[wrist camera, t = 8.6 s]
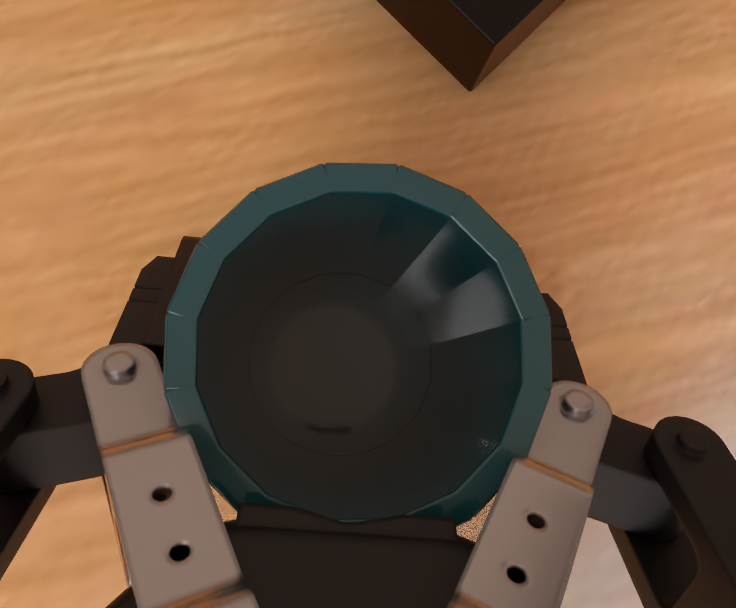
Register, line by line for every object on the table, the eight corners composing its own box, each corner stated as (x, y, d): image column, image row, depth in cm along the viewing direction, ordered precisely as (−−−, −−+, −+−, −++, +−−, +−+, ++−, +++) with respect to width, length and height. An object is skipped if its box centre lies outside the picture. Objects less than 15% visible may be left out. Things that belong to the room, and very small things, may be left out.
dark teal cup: (188, 363, 19) (78, 352, 10) (340, 217, 20) (361, 86, 11) (340, 516, 19) (362, 640, 10) (486, 363, 20) (629, 352, 11)
